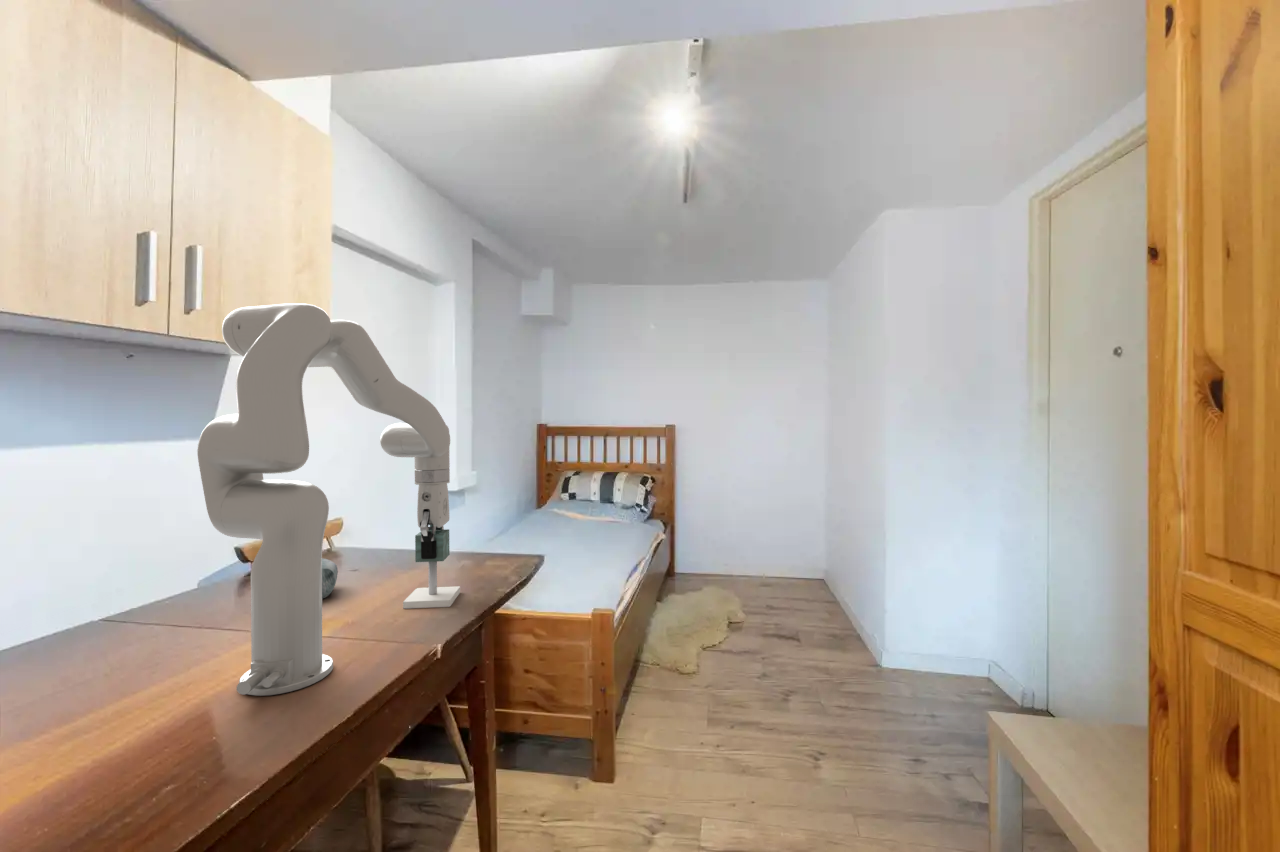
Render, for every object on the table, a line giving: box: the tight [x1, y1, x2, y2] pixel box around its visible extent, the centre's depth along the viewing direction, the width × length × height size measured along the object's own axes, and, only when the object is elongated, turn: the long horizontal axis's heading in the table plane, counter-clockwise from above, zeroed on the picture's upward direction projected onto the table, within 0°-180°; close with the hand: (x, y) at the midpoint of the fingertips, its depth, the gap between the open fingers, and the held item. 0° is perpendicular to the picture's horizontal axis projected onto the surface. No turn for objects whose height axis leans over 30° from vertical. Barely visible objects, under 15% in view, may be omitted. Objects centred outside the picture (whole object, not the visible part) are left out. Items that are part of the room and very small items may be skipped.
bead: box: [414, 529, 450, 563], centre depth 123 cm, size 6×6×6 cm
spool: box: [322, 557, 339, 600], centre depth 127 cm, size 14×10×10 cm
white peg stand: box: [402, 561, 461, 610], centre depth 123 cm, size 10×10×10 cm
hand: (433, 554), depth 123 cm, fingers closed on bead, 5 cm apart
